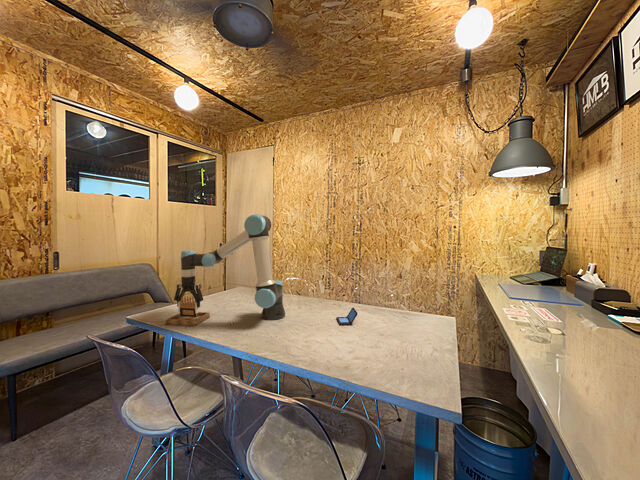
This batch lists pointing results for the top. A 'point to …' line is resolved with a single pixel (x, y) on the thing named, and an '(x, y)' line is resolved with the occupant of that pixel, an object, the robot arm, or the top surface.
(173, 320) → the tray
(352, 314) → the handheld game console
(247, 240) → the robot arm
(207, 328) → the top surface
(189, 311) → the ammunition clip
